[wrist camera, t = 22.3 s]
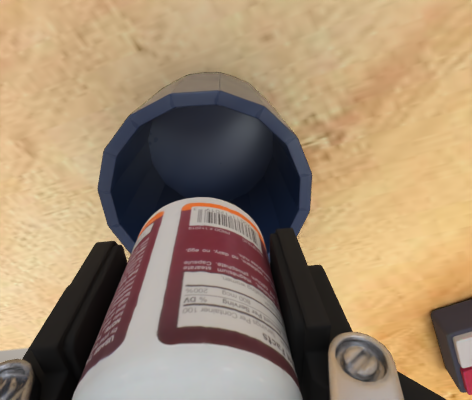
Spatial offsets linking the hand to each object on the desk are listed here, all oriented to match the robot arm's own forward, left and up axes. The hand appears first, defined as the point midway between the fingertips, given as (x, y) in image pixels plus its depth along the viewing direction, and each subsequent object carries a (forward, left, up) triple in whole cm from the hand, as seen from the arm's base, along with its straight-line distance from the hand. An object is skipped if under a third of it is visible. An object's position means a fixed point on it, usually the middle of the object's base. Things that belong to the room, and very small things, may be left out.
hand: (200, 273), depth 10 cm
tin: (0, 0, -14) cm, 14 cm away
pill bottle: (0, 0, -2) cm, 2 cm away
